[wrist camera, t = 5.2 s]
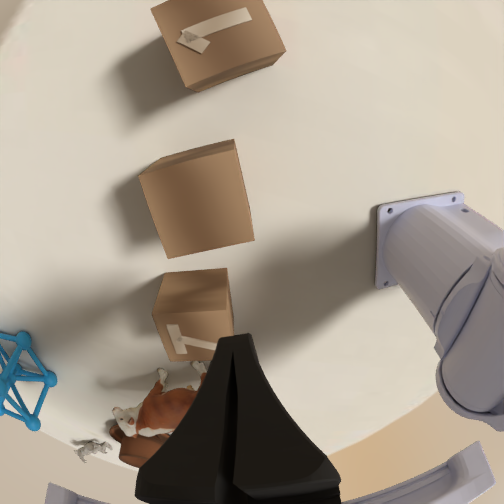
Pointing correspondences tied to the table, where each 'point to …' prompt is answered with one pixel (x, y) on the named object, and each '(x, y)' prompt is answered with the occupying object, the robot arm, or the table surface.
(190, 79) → the cube one
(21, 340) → the molecular structure
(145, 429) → the bull figurine
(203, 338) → the cube seven
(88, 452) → the soldier figure
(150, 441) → the cup and saucer
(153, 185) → the plain cube
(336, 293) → the table surface
